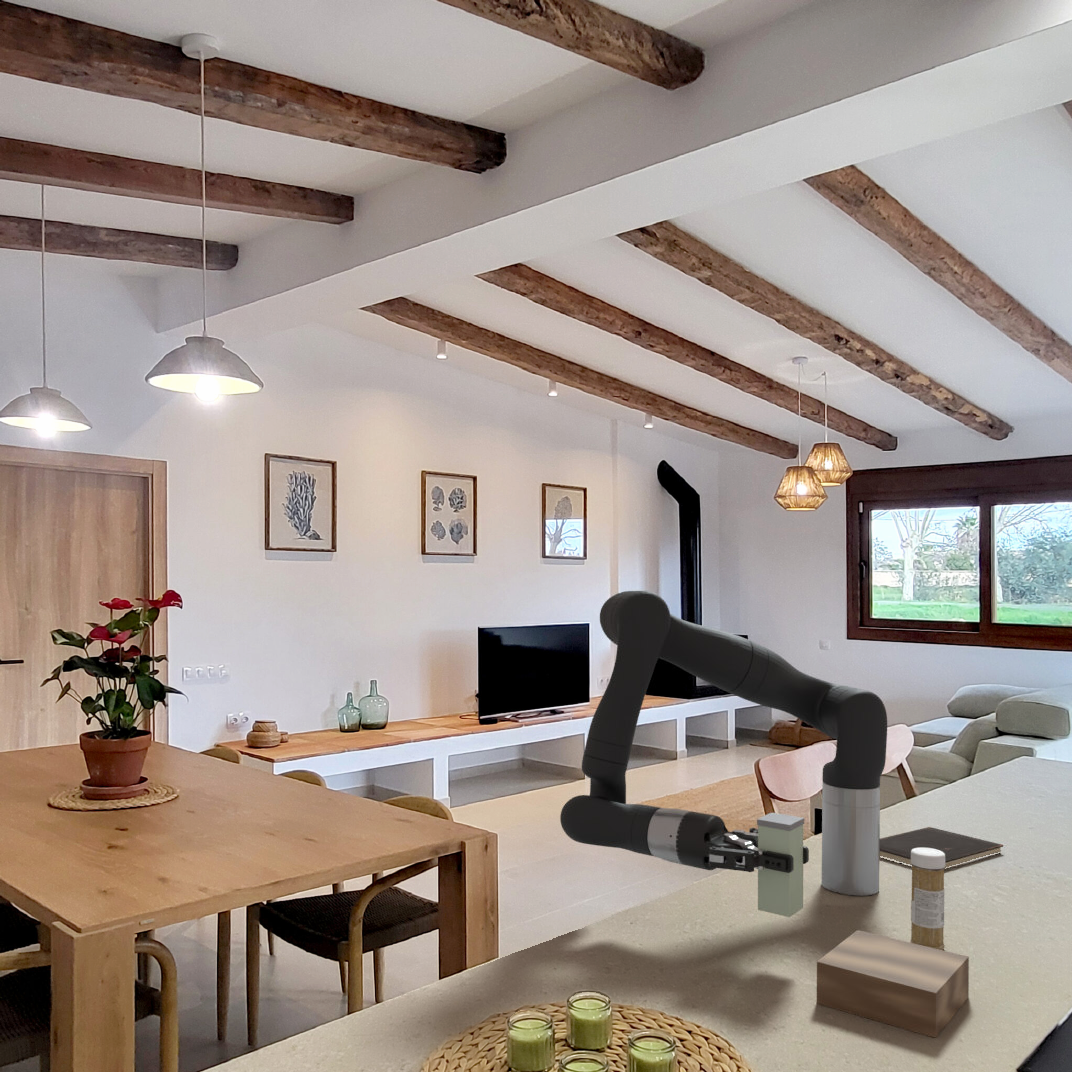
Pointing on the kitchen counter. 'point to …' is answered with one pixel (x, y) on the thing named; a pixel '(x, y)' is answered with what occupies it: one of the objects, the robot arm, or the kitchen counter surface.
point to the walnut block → (894, 982)
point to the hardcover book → (936, 845)
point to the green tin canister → (779, 887)
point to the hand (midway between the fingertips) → (799, 859)
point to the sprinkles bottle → (927, 897)
